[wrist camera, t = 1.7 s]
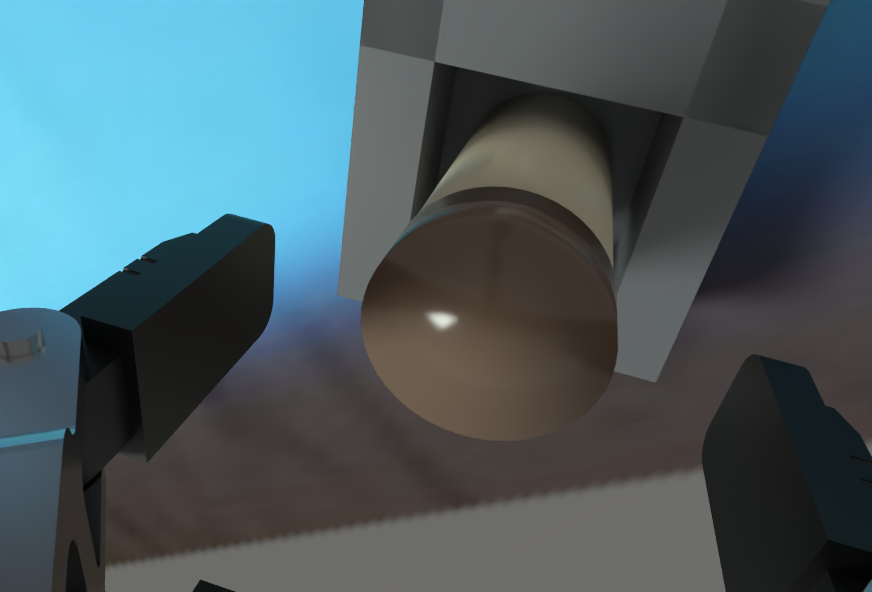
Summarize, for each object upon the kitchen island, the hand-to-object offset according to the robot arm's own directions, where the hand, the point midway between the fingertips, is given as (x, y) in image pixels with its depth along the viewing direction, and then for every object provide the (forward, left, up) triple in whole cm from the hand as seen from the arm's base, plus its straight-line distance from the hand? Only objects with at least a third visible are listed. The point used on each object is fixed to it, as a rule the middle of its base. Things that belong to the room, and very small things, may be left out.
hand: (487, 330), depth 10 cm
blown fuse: (0, 0, -8) cm, 8 cm away
